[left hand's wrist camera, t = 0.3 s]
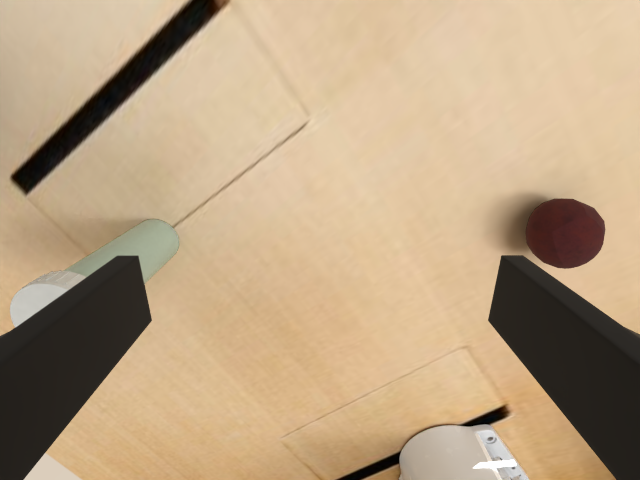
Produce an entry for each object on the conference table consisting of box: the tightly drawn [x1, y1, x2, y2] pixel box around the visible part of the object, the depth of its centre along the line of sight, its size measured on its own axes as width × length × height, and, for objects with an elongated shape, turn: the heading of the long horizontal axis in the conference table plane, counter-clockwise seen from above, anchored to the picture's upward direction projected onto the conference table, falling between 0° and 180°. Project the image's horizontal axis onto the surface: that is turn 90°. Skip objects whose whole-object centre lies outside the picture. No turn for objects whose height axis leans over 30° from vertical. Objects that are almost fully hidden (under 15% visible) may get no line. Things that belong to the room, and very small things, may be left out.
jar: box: [64, 219, 179, 284], centre depth 34 cm, size 5×5×17 cm
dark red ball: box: [526, 199, 605, 268], centre depth 37 cm, size 7×8×7 cm
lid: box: [10, 271, 86, 328], centre depth 27 cm, size 6×6×2 cm
